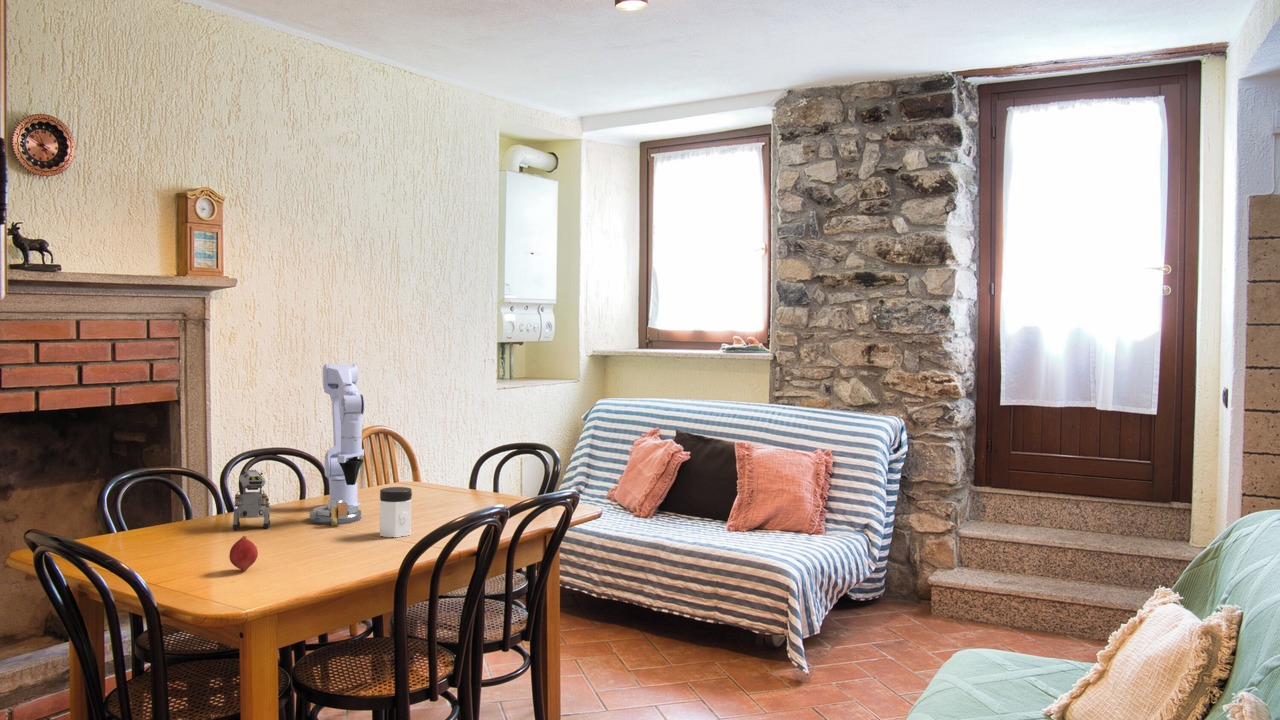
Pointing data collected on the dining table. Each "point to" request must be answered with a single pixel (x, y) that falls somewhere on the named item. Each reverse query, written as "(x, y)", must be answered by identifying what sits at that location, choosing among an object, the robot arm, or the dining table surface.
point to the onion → (243, 554)
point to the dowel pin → (333, 516)
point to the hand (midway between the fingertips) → (350, 484)
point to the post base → (327, 519)
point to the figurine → (251, 499)
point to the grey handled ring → (341, 510)
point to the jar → (395, 511)
